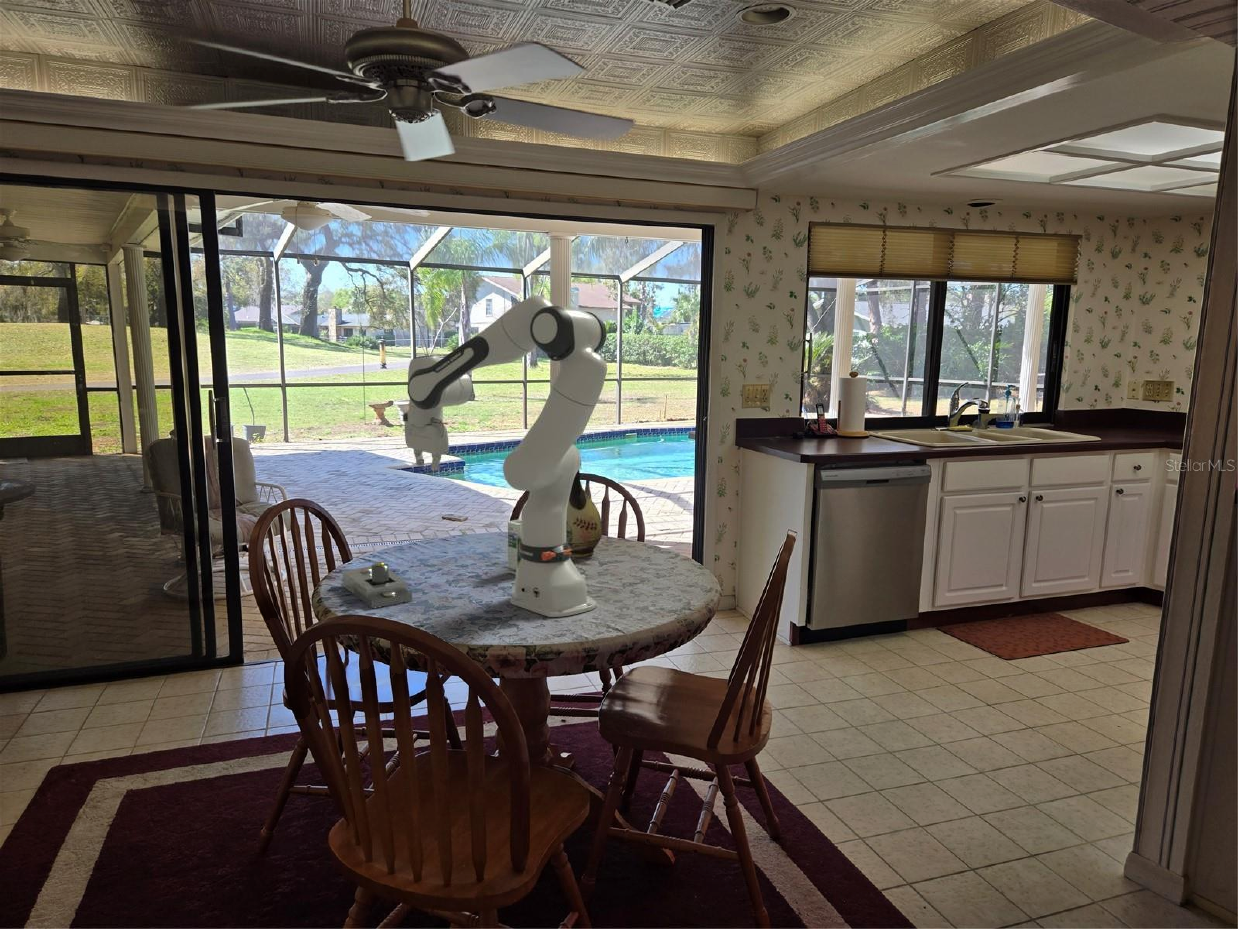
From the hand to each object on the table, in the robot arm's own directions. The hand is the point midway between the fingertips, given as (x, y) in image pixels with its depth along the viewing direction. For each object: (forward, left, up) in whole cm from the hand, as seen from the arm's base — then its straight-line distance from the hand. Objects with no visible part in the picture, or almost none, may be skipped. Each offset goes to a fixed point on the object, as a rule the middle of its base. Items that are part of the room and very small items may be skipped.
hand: (427, 467), depth 208 cm
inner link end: (-13, +18, -29) cm, 37 cm away
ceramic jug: (-7, -44, -30) cm, 53 cm away
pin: (-12, +18, -29) cm, 37 cm away
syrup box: (-14, -21, -30) cm, 39 cm away
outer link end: (-7, +18, -29) cm, 35 cm away
